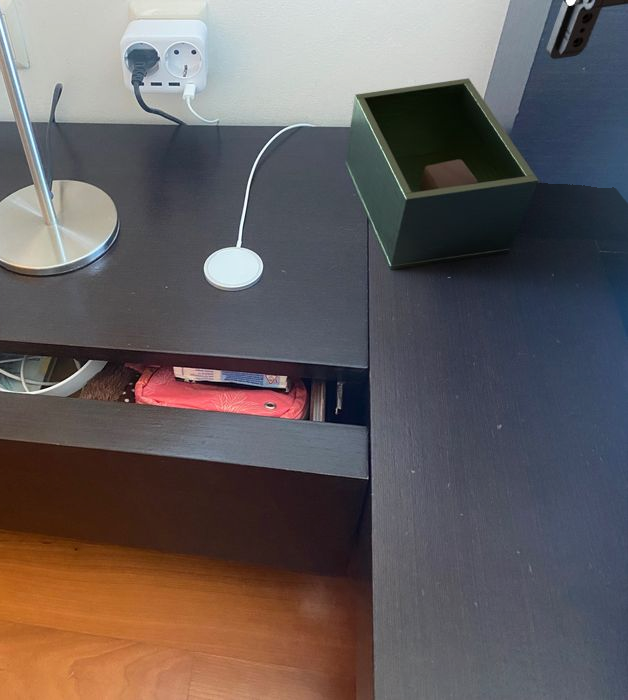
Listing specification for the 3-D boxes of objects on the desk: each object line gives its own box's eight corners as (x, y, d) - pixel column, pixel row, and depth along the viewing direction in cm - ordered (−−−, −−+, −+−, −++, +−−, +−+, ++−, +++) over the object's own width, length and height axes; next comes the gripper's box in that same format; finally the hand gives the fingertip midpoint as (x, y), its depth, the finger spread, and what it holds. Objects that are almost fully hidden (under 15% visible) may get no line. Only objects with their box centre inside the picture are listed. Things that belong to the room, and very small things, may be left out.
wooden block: (424, 249, 76) (441, 189, 70) (409, 224, 78) (423, 164, 72) (460, 241, 76) (480, 181, 70) (444, 216, 79) (461, 156, 72)
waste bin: (508, 252, 75) (538, 180, 68) (389, 270, 75) (406, 199, 68) (449, 150, 86) (468, 77, 79) (345, 165, 86) (354, 94, 79)
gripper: (789, -247, 34) (639, 70, 47) (633, -312, 43) (543, -30, 55) (631, -224, 34) (524, 86, 47) (507, -294, 43) (446, -16, 55)
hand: (534, 23), depth 51 cm, fingers open, 8 cm apart
